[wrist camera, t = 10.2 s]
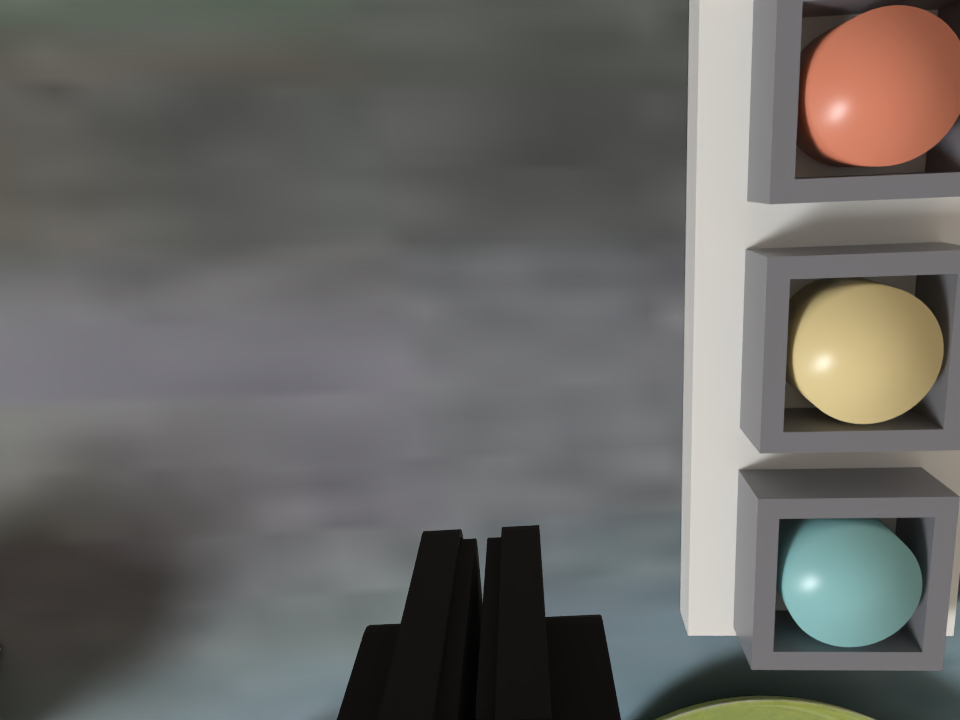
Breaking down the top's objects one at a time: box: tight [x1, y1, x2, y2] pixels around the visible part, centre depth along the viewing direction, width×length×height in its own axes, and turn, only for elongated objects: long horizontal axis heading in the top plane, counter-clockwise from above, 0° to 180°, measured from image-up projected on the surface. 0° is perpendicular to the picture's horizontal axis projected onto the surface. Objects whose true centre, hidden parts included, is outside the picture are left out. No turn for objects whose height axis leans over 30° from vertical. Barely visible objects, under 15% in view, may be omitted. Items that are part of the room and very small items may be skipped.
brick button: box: [796, 5, 960, 167], centre depth 27 cm, size 5×5×3 cm
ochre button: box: [786, 277, 944, 424], centre depth 29 cm, size 5×5×3 cm
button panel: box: [680, 0, 960, 671], centre depth 30 cm, size 26×11×5 cm, turn 3°
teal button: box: [776, 518, 922, 647], centre depth 31 cm, size 5×5×3 cm
